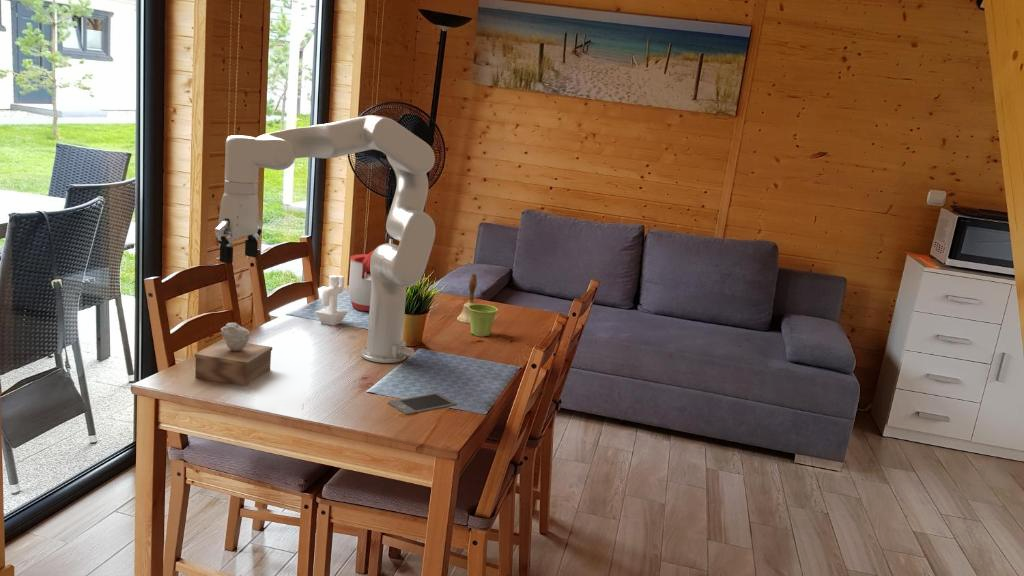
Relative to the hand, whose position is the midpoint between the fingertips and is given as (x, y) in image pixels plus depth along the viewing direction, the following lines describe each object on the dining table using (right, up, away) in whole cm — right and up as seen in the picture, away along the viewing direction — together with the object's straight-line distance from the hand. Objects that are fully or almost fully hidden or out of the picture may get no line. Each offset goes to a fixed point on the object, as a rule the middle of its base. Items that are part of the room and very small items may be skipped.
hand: (238, 259), depth 197 cm
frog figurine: (-2, -22, +3) cm, 23 cm away
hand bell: (+51, -18, +77) cm, 95 cm away
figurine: (+10, -18, +56) cm, 60 cm away
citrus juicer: (+18, -14, +77) cm, 81 cm away
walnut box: (-3, -28, +4) cm, 28 cm away
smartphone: (+44, -35, -1) cm, 57 cm away
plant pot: (+56, -22, +63) cm, 87 cm away
